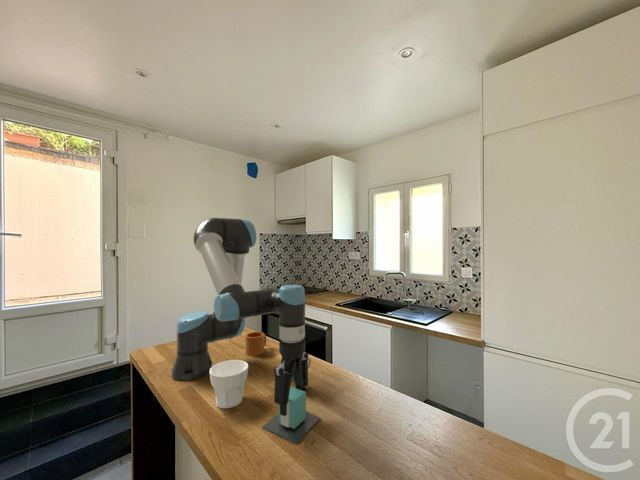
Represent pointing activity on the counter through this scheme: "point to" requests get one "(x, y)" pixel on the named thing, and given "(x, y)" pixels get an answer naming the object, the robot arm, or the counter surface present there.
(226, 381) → the cup
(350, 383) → the counter surface
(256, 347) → the mug
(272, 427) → the grey square tile
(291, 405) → the teal block
